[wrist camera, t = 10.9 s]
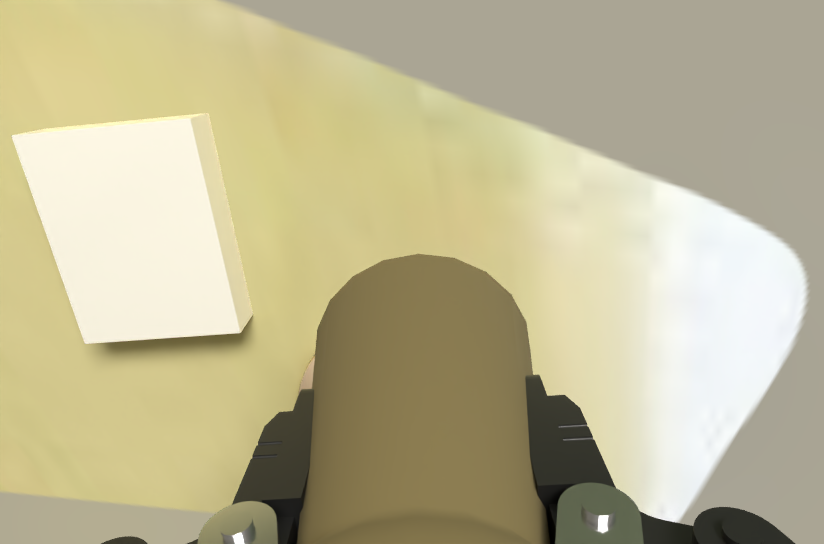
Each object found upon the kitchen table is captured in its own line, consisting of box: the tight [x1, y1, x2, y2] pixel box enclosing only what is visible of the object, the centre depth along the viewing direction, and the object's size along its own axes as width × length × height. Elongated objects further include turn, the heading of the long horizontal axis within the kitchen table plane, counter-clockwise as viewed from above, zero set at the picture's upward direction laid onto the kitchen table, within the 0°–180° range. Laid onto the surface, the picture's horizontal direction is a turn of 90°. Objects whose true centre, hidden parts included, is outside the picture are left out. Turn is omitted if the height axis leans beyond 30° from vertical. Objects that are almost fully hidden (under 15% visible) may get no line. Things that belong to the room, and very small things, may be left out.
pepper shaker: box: [297, 254, 551, 544], centre depth 11 cm, size 6×6×11 cm
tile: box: [11, 113, 253, 344], centre depth 24 cm, size 7×2×9 cm
